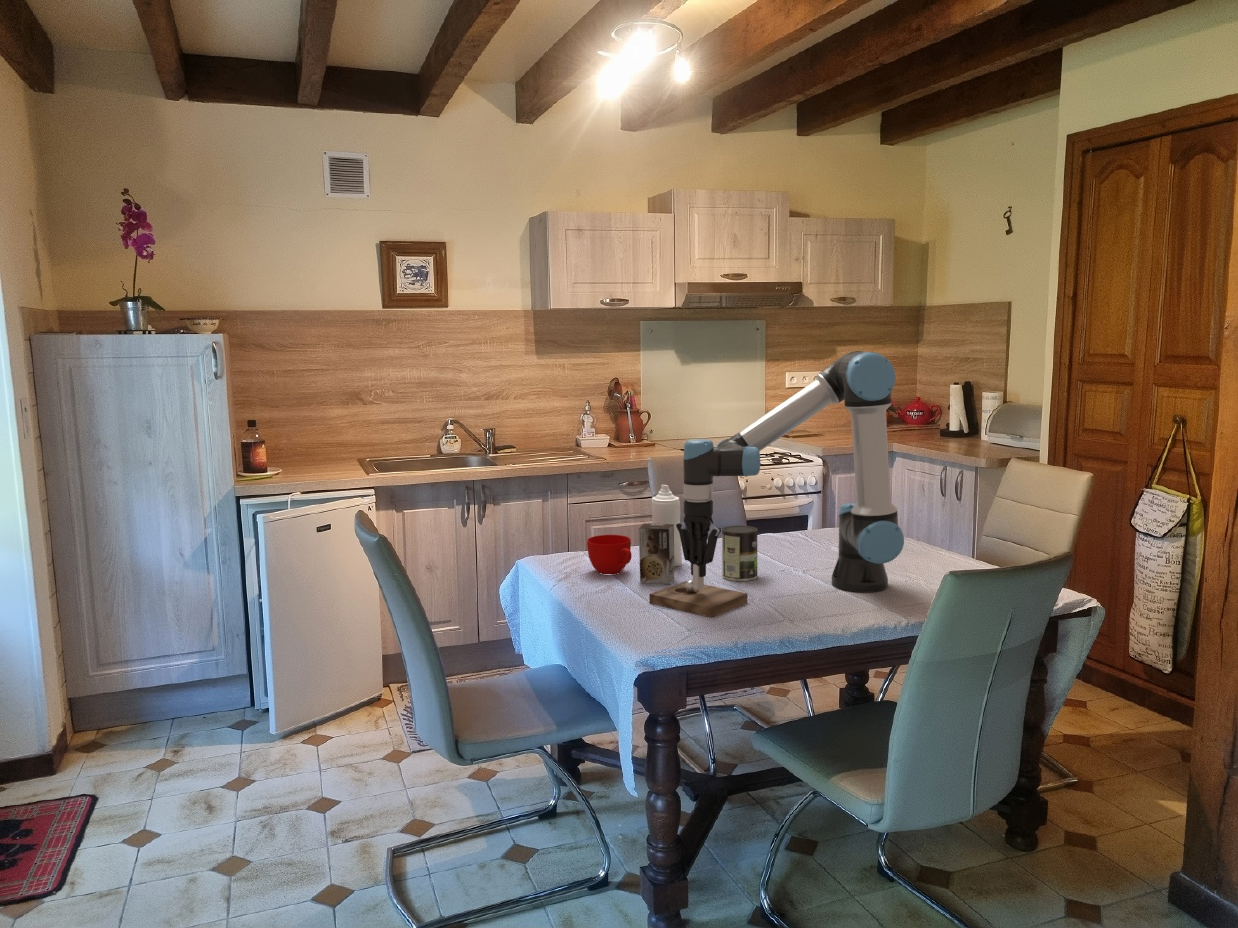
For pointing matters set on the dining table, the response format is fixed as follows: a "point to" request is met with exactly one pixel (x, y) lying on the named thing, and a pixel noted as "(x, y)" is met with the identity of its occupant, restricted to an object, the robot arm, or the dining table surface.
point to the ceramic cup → (609, 553)
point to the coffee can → (739, 553)
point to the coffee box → (656, 553)
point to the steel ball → (689, 586)
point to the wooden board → (699, 599)
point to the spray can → (668, 516)
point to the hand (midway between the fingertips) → (698, 588)
